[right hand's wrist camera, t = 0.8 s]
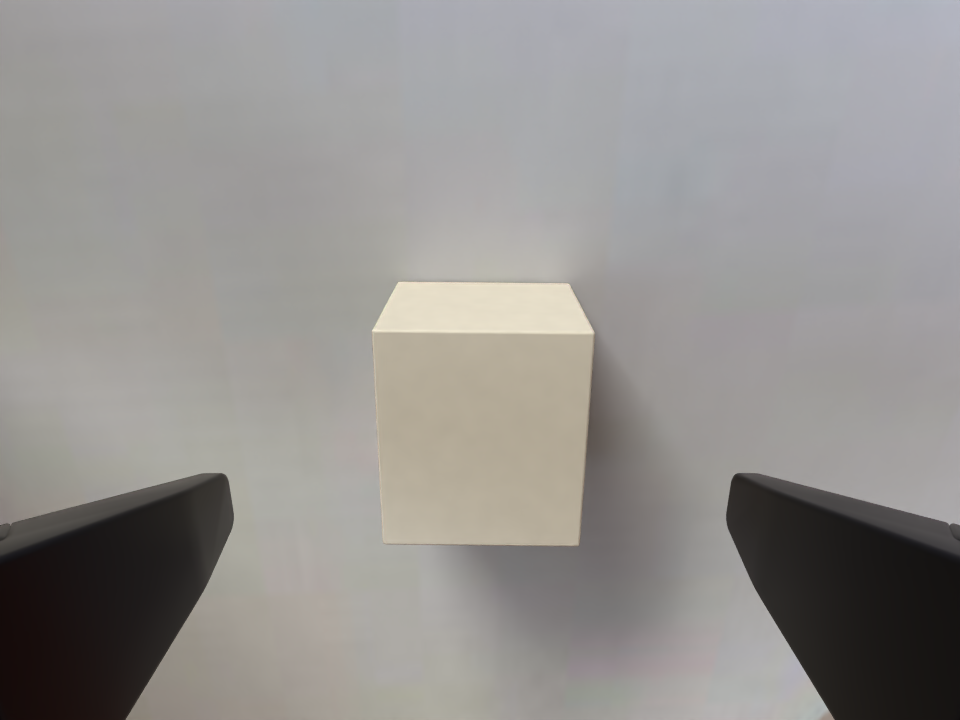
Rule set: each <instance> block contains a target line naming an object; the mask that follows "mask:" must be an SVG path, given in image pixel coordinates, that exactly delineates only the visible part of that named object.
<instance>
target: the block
mask: <svg viewBox="0 0 960 720" xmlns="http://www.w3.org/2000/svg"><path fill="white" fill-rule="evenodd" d="M594 342H595V333H594V330H593V329H592V327H591V325H590V323H589V321H588V319H587V317H586V315H585V313H584V311H583V309H582V307H581V305H580V303H579V301H578V300H577V298H576V296H575V294H574V292H573V290H572V288H571V286H570V284H568V283H476V282H398V283H397V285H396V287H395V289H394V291H393V293H392V295H391V296H390V298H389V300H388V302H387V304H386V306H385V308H384V310H383V311H382V313H381V315H380V317H379V319H378V321H377V323H376V325H375V326H374V328H373V330H372V344H373V363H374V383H375V402H376V421H377V440H378V459H379V478H380V497H381V516H382V535H383V543H384V544H404V545H496V546H579V544H580V533H581V520H582V506H583V492H584V479H585V465H586V452H587V438H588V424H589V411H590V397H591V383H592V370H593V356H594Z"/></svg>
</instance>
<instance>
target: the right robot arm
mask: <svg viewBox="0 0 960 720" xmlns="http://www.w3.org/2000/svg"><path fill="white" fill-rule="evenodd" d="M233 521H234V513H233V506H232V500H231V493H230V487H229V481H228V478H227V476H226V475H225V474H222V473H203V474H198V475H194V476H191V477H187V478H183V479H179V480H175V481H171V482H168V483H164V484H160V485H156V486H152V487H148V488H145V489H141V490H137V491H133V492H129V493H125V494H121V495H118V496H114V497H110V498H106V499H102V500H98V501H95V502H91V503H87V504H83V505H79V506H75V507H71V508H68V509H64V510H60V511H56V512H52V513H48V514H45V515H41V516H37V517H33V518H29V519H25V520H21V521H18V522H14V523H12V525H11V526H10V524H3V525H0V720H125V719H126V718H127V716H128V715H129V713H130V711H131V710H132V708H133V706H134V705H135V703H136V701H137V700H138V698H139V696H140V695H141V693H142V692H143V690H144V688H145V687H146V685H147V683H148V682H149V680H150V678H151V677H152V675H153V674H154V672H155V670H156V669H157V667H158V665H159V664H160V662H161V660H162V659H163V657H164V655H165V654H166V652H167V651H168V649H169V647H170V646H171V644H172V642H173V641H174V639H175V637H176V636H177V634H178V632H179V631H180V629H181V628H182V626H183V624H184V623H185V621H186V619H187V618H188V616H189V614H190V613H191V611H192V610H193V608H194V606H195V605H196V603H197V601H198V600H199V598H200V596H201V594H202V593H203V591H204V589H205V587H206V585H207V583H208V581H209V579H210V577H211V575H212V572H213V570H214V568H215V566H216V563H217V561H218V559H219V557H220V554H221V552H222V550H223V548H224V545H225V543H226V541H227V539H228V536H229V534H230V532H231V530H232V526H233ZM726 521H727V526H728V530H729V532H730V534H731V537H732V539H733V541H734V543H735V545H736V548H737V550H738V552H739V554H740V557H741V559H742V561H743V563H744V566H745V568H746V570H747V572H748V575H749V577H750V579H751V581H752V583H753V585H754V587H755V589H756V591H757V593H758V594H759V596H760V598H761V600H762V601H763V603H764V605H765V606H766V608H767V610H768V611H769V613H770V614H771V616H772V618H773V619H774V621H775V623H776V624H777V626H778V628H779V629H780V631H781V632H782V634H783V636H784V637H785V639H786V641H787V642H788V644H789V646H790V647H791V649H792V651H793V652H794V654H795V655H796V657H797V659H798V660H799V662H800V664H801V665H802V667H803V669H804V670H805V672H806V674H807V675H808V677H809V678H810V680H811V682H812V683H813V685H814V687H815V688H816V690H817V692H818V693H819V695H820V696H821V698H822V700H823V701H824V703H825V705H826V706H827V708H828V710H829V711H830V713H831V714H832V716H833V718H834V719H835V720H960V525H957V524H950V526H949V524H948V523H946V522H942V521H939V520H935V519H931V518H927V517H923V516H919V515H916V514H912V513H908V512H904V511H900V510H896V509H892V508H889V507H885V506H881V505H877V504H873V503H869V502H866V501H862V500H858V499H854V498H850V497H846V496H842V495H839V494H835V493H831V492H827V491H823V490H819V489H816V488H812V487H808V486H804V485H800V484H796V483H792V482H789V481H785V480H781V479H777V478H773V477H769V476H766V475H762V474H757V473H738V474H735V475H734V476H733V478H732V481H731V487H730V493H729V500H728V506H727V513H726Z"/></svg>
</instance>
